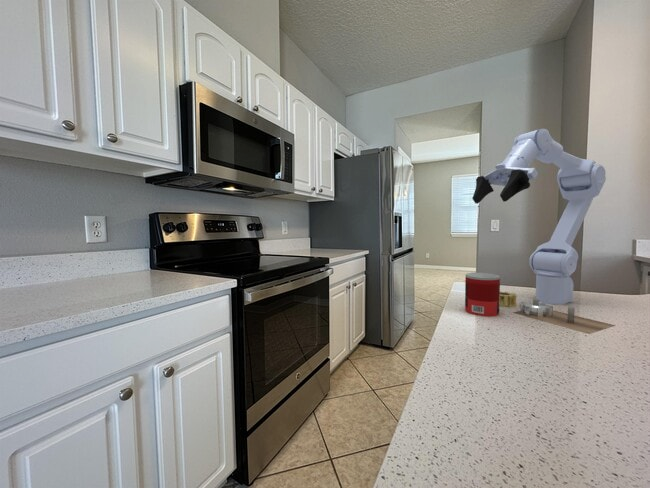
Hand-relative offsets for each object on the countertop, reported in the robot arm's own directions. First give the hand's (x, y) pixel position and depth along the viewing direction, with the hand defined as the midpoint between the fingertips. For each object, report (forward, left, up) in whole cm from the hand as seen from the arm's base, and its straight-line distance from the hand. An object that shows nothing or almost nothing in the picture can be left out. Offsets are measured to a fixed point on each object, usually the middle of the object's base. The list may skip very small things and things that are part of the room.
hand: (488, 199), depth 71 cm
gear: (-11, +5, -30) cm, 32 cm away
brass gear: (-12, -4, -31) cm, 33 cm away
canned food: (0, -2, -31) cm, 31 cm away
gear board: (-12, +10, -31) cm, 35 cm away
